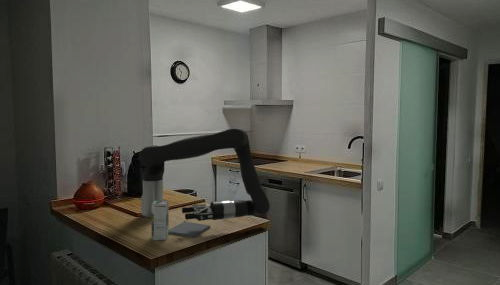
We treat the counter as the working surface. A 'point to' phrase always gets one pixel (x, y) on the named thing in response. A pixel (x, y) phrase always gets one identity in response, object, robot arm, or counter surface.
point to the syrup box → (160, 220)
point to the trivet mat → (188, 229)
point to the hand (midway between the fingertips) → (183, 213)
